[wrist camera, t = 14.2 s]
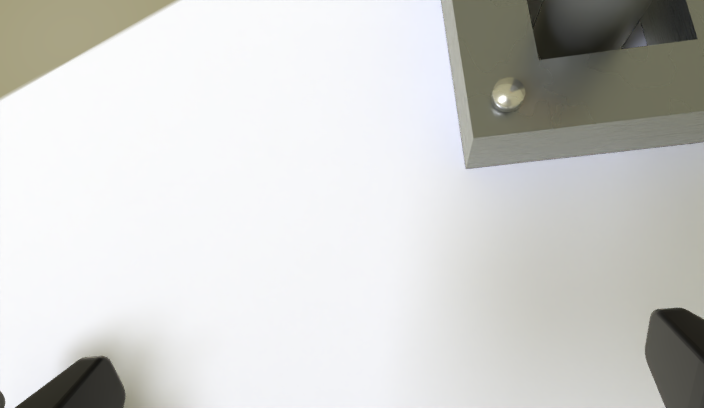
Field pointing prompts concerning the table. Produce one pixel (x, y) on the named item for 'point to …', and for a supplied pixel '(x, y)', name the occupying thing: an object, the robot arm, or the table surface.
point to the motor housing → (572, 85)
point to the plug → (585, 26)
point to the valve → (2, 400)
